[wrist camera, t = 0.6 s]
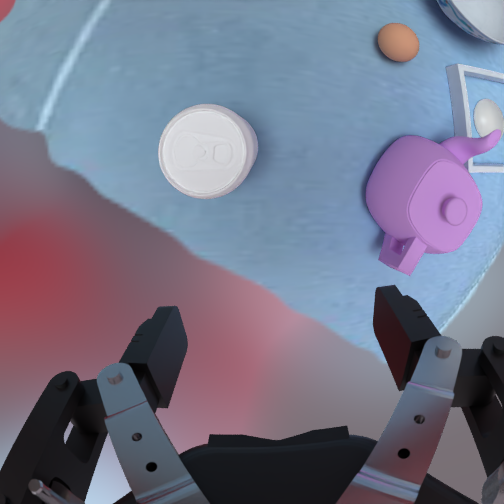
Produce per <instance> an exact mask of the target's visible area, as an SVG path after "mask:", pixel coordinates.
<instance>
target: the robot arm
mask: <svg viewBox="0 0 504 504" xmlns="http://www.w3.org/2000/svg"><path fill="white" fill-rule="evenodd" d="M373 328H374V333H375V335H376V338H377V340H378V342H379V345H380V347H381V349H382V351H383V354H384V356H385V358H386V361H387V363H388V366H389V368H390V370H391V373H392V375H393V378H394V380H395V382H396V385H397V387H398V390H399V391H402V390H404V392H403V394H402V396H401V398H400V400H399V402H398V404H397V406H396V408H395V410H394V412H393V415H392V416H391V418H390V420H389V422H388V424H387V426H386V428H385V430H384V431H383V433H382V435H381V437H380V439H379V440H378V441H376V440H373V439H370V438H367V437H363V436H357V435H349V432H348V428H347V426H341V427H334V428H327V429H319V430H312V431H310V432H306V433H303V434H300V435H296V436H294V437H289V438H286V439H282V440H270V439H263V438H258V437H253V436H247V435H213V434H210V436H209V441H208V444H203V445H200V446H196V447H194V448H191V449H189V450H187V451H185V452H183V453H181V454H178V452H177V451H176V449H175V447H174V446H173V444H172V443H171V441H170V439H169V437H168V436H167V434H166V433H165V431H164V429H163V427H162V425H161V424H160V422H159V420H158V418H157V416H156V414H155V412H156V409H157V408H168V406H169V403H170V400H171V397H172V394H173V391H174V388H175V385H176V381H177V378H178V376H179V373H180V370H181V366H182V363H183V361H184V358H185V355H186V352H187V346H188V342H187V336H186V332H185V329H184V326H183V322H182V319H181V316H180V312H179V309H178V307H177V306H166V307H165V306H164V307H158V308H157V310H156V312H155V314H154V315H153V317H152V319H147V320H146V321H145V322H144V323H143V324H141V326H139V328H138V330H137V331H136V333H135V336H134V337H133V338H132V340H131V342H130V343H129V345H128V347H127V349H126V351H125V352H124V354H123V356H122V358H121V360H120V361H119V363H115V364H112V365H109V366H107V367H105V368H104V369H103V370H102V371H101V372H100V373H99V375H98V377H97V379H92V380H86V381H80V379H79V378H78V376H77V375H76V373H74V372H71V371H65V372H61V373H59V374H57V375H56V376H54V377H53V378H52V379H51V380H50V382H49V383H48V385H47V387H46V388H45V390H44V391H43V393H42V395H41V396H40V398H39V400H38V402H37V403H36V405H35V406H34V408H33V410H32V412H31V413H30V415H29V417H28V419H27V420H26V422H25V424H24V426H23V428H22V430H21V431H20V433H19V435H18V437H17V439H16V441H15V443H14V444H13V446H12V448H11V450H10V452H9V454H8V456H7V458H6V460H5V462H4V464H3V466H2V468H1V470H0V504H85V503H84V502H85V499H86V495H87V492H88V489H89V486H90V483H91V480H92V476H93V474H94V471H95V467H96V465H97V462H98V459H99V456H100V453H101V450H102V448H103V444H104V442H105V439H106V436H107V434H108V433H109V436H110V438H111V441H112V444H113V447H114V449H115V452H116V455H117V457H118V460H119V462H120V465H121V467H122V469H123V472H124V474H125V477H126V479H127V481H128V483H129V486H130V488H131V490H132V491H131V492H129V493H128V494H126V495H125V496H123V497H122V498H121V499H119V500H118V501H116V502H115V503H113V504H478V503H477V502H475V501H474V500H472V499H470V498H468V497H466V496H465V495H463V494H461V493H459V492H458V491H456V490H454V489H453V488H451V487H449V486H448V485H446V484H444V483H443V482H441V481H439V480H438V479H436V478H434V477H432V476H431V475H430V474H428V473H427V471H428V469H429V466H430V464H431V462H432V459H433V457H434V454H435V452H436V449H437V446H438V444H439V441H440V438H441V436H442V433H443V430H444V427H445V424H446V421H447V418H448V415H449V412H450V408H451V407H461V408H462V411H463V413H464V415H465V418H466V420H467V423H468V425H469V427H470V430H471V433H472V435H473V438H474V440H475V443H476V446H477V449H478V451H479V454H480V457H481V460H482V463H483V466H484V468H485V472H486V475H487V479H486V481H485V482H484V484H483V487H482V499H481V503H482V504H504V338H502V337H499V336H492V337H488V338H487V339H485V340H484V342H483V344H482V347H481V349H462V348H461V345H460V344H459V343H458V342H457V341H456V340H454V339H452V338H450V337H446V336H441V334H440V333H439V331H438V330H437V329H436V327H435V326H434V324H433V323H432V321H431V320H430V319H429V317H428V316H427V314H426V313H425V312H424V310H422V307H421V306H420V305H419V303H418V302H417V301H416V300H414V299H413V298H411V297H410V296H408V295H406V296H402V294H401V293H400V291H399V290H398V288H397V287H396V286H395V285H390V286H383V287H377V288H376V292H375V303H374V315H373ZM496 394H497V396H498V398H499V400H500V401H501V403H502V407H501V405H500V403H499V401H498V399H497V397H496ZM502 408H503V409H502ZM70 421H71V423H72V424H73V425H74V426H73V428H72V430H71V433H70V435H69V437H68V439H67V441H66V444H65V443H64V433H65V431H66V428H67V426H68V424H69V422H70Z"/></svg>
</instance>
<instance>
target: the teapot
mask: <svg viewBox="0 0 504 504" xmlns="http://www.w3.org/2000/svg"><path fill="white" fill-rule="evenodd" d="M500 137H501V130H499V129H496V130H494V131H492V132H491V133H490V134H488V135H486V136H484V137H481V138H470V137H463V136H454V137H451V138H448V139H446V140H445V141H443V142H441V143H440V144H437V143H436V142H433V141H431V140H429V139H426V138H423V137H420V136H413V135H408V136H403V137H401V138H399V139H398V140H396V141H395V142H394V143H393V144H392V145H391V146H390V147H389V148H388V149H387V150H386V151H385V153H384V154H383V155H382V157H381V158H380V159H379V161H378V163H377V164H376V166H375V168H374V170H373V172H372V174H371V176H370V178H369V181H368V183H367V187H366V203H367V206H368V209H369V211H370V213H371V215H372V217H373V218H374V220H375V221H376V222H377V224H378V225H379V226H380V227H381V229H382V230H383V231H384V232H385V237H384V241H383V245H382V249H381V252H380V256H379V261H381V262H382V263H384V264H386V265H387V266H389V267H391V268H393V269H396V270H398V271H400V272H402V273H405V274H407V275H409V276H410V275H411V273H412V272H413V270H414V268H415V267H416V265H417V263H418V262H419V260H420V258H421V257H422V255H423V253H430V254H441V253H448V252H452V251H454V250H456V249H458V248H459V247H460V246H461V245H462V244H463V242H464V241H465V240H466V238H467V237H468V236H469V234H470V233H471V231H472V229H473V228H474V226H475V224H476V223H477V221H478V219H479V216H480V214H481V210H482V198H481V194H480V191H479V189H478V187H477V185H476V183H475V182H474V180H473V178H472V177H471V175H470V174H469V172H468V171H467V169H466V168H465V166H464V165H463V164H464V163H465V162H466V161H467V160H469V159H470V158H471V157H473V156H475V155H478V154H482V153H485V152H487V151H489V150H490V149H492V148H493V147H494V146H495V145H496V144H497V143H498V141H499V140H500ZM403 246H405V247H404V249H403ZM402 250H403V251H402Z"/></svg>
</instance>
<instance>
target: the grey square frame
mask: <svg viewBox="0 0 504 504" xmlns="http://www.w3.org/2000/svg"><path fill="white" fill-rule="evenodd" d="M446 71H447V76H448V82H449V89H450V95H451V103H452V111H453V120H454V131H455V136H463V137H470V138H472V134H471V122H470V112H469V103H468V96H467V89H466V83H465V77H464V75H465V76H471V77H476V78H481V79H486V80H491V81H495V82H500V83H504V74H502V73H498V72H494V71H490V70H486V69H481V68H477V67H472V66H467V65H462V64H455V65H451V66H448V67H446ZM463 165H464V166H465V168H466V169H467V171H468V172H469V173H476V172H502V173H504V164H488V163H473V157H471V158H470V159H469V160H467V161H466V162H465V163H464V164H463Z"/></svg>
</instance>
